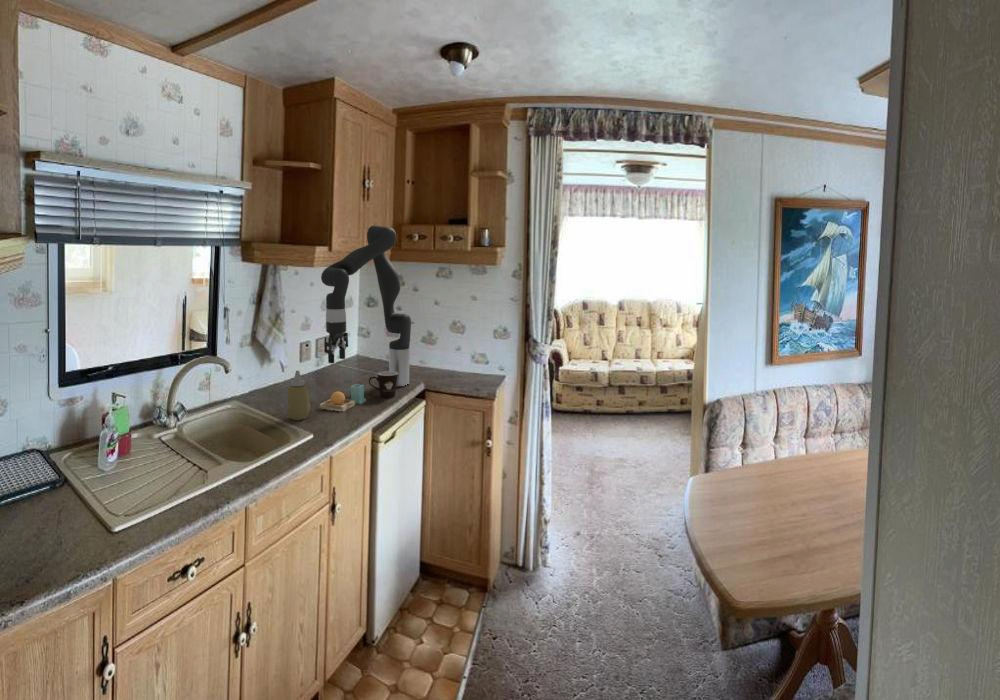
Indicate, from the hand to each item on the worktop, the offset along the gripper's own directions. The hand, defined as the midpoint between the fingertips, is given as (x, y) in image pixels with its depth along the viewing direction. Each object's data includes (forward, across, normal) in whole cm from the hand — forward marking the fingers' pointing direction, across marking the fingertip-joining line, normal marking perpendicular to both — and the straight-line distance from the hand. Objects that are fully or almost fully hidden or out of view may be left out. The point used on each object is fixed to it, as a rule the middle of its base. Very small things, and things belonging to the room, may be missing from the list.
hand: (336, 360), depth 224 cm
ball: (+15, 0, 0) cm, 15 cm away
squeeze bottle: (+19, +18, -6) cm, 27 cm away
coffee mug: (+19, -22, +10) cm, 31 cm away
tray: (+19, 0, 0) cm, 19 cm away
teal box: (+19, -9, +4) cm, 21 cm away
